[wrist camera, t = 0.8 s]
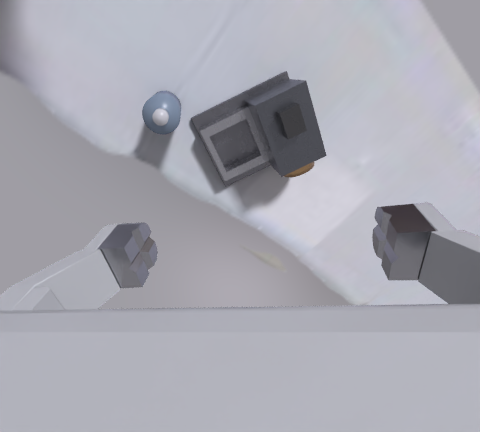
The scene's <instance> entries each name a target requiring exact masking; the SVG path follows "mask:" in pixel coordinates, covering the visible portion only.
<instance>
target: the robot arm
mask: <svg viewBox="0 0 480 432" xmlns="http://www.w3.org/2000/svg"><path fill="white" fill-rule="evenodd" d="M375 220H376V221H377V223H378V225H377V226H376V227H375V228H374V229H373V237H372V238H373V247H374V250H375V253H376V255H377V256H378V257H379V258H381V259H382V265H381V266H382V268H383V270H384V272H385V274H386V276H387V278H388V280H418V281H419V282H420V283H421V284H423V285H424V286H425V287H427V288H428V289H429V290H431V291H432V292H433V293H435V294H436V295H438V296H439V297H440V298H442V299H443V300H444V301H446V302H447V303H448V304H428V305H356V306H285V307H223V308H222V307H220V308H147V309H98V308H99V307H101V306H102V305H103V304H104V303H105V302H107V301H108V300H109V299H110V298H111V297H112V296H113V295H115V294H116V293H117V292H118V291H119V290H120V288H134V287H143V285H144V283H145V281H146V279H147V277H148V275H149V272H148V269H149V268H151V267H152V266H154V264H155V262H156V260H157V253H158V252H157V247H156V244H155V241H154V240H152V239H151V238H150V237H149V236H150V234H151V230H150V228H149V226H148V224H146V223H124V224H109V225H105V226H104V227H103V229H102V230H101V231H100V232H99V233H98V234H97V235H96V236H95V237H94V238H93V240H92V241H91V242H90V243H89V244H88V245H87V246H86V247H85V248H84V249H83V250H79V251H77V252H75V253H73V254H71V255H69V256H67V257H65V258H64V259H62V260H60V261H58V262H56V263H54V264H52V265H50V266H48V267H46V268H45V269H43V270H41V271H39V272H37V273H35V274H33V275H31V276H29V277H27V278H26V279H24V280H22V281H20V282H18V283H16V284H14V285H12V286H10V287H9V288H8V289H7V290H6V291H5V292H4V293H3V294H2V295H0V432H480V236H478V235H475V234H472V233H470V232H467V231H464V230H457V229H456V228H455V227H454V226H453V225H452V224H451V223H450V222H449V221H448V220H447V219H446V218H445V217H444V216H443V215H442V214H441V213H440V212H439V211H438V210H437V209H436V208H435V207H434V206H433V205H432V204H431V203H428V202H425V203H416V204H406V205H395V206H384V207H377V209H376V213H375Z"/></svg>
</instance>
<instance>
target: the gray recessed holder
mask: <svg viewBox="0 0 480 432" xmlns="http://www.w3.org/2000/svg"><path fill="white" fill-rule="evenodd" d="M191 120H192V122H193V123H194V125H195V127H196V129H197V131H198V133H199V135H200V137H201V139H202V141H203V143H204V145H205V147H206V149H207V151H208V153H209V155H210V157H211V159H212V161H213V163H214V165H215V167H216V169H217V171H218V173H219V175H220V177H221V179H222V181H223V183H224V185H225V187H226V186H228V185H230V184H232V183H234V182H236V181H238V180H240V179H242V178H244V177H246V176H249V175H251V174H253V173H255V172H257V171H259V170H261V169H263V168H265V167H267V166H269V165H272V167H273V168H274V169H275V170H276V171H277V172H278V173H279V174H280V175H281V177H282V176H284V177H296V176H299V175H302V174H304V173H306V172H308V171H309V170H311V169H312V168H313V166H314V161H316V160H318V159H320V158H322V157H324V156H326V152H325V149H324V145H323V141H322V138H321V134H320V130H319V127H318V123H317V119H316V116H315V112H314V108H313V105H312V101H311V97H310V94H309V90H308V86H307V82H306V81H303V80H293V79H289V77H288V74H287V71H285V72H283V73H281V74H279V75H277V76H275V77H273V78H271V79H269V80H267V81H265V82H263V83H261V84H259V85H257V86H255V87H253V88H251V89H249V90H247V91H245V92H243V93H241V94H239V95H237V96H235V97H233V98H231V99H229V100H227V101H225V102H223V103H221V104H219V105H216V106H214V107H212V108H210V109H208V110H206V111H204V112H202V113H200V114H198V115H196V116H194V117H192V118H191Z"/></svg>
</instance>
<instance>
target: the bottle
mask: <svg viewBox="0 0 480 432" xmlns="http://www.w3.org/2000/svg"><path fill="white" fill-rule="evenodd" d="M142 115H143V120H144V122H145V124H146V125H147V127H148V128H149V129H150V130H152V131H153V132H155V133H158V134H168V133H171V132H173V131H174V130H175V129H176V128H177V126H178V125H179V122H180V115H181V104H180V101H179V99H178V98H177V96H176V95H174V94H173V93H171V92H169V91H160V92H157V93H156V94H155V95H153V96H152V97H151V98H150V99H149V100H148V101H147V102H146V103H145V104H144V107H143V111H142Z"/></svg>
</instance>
